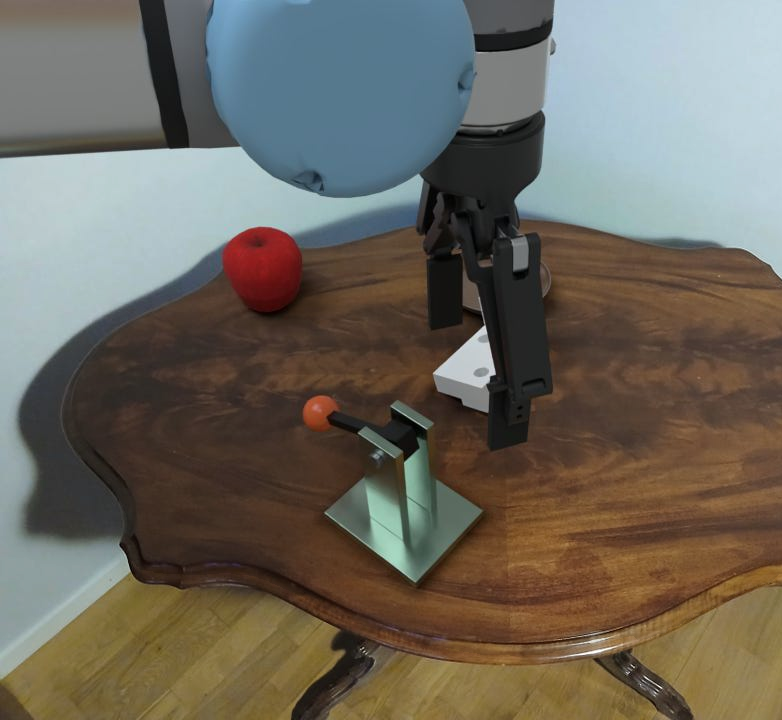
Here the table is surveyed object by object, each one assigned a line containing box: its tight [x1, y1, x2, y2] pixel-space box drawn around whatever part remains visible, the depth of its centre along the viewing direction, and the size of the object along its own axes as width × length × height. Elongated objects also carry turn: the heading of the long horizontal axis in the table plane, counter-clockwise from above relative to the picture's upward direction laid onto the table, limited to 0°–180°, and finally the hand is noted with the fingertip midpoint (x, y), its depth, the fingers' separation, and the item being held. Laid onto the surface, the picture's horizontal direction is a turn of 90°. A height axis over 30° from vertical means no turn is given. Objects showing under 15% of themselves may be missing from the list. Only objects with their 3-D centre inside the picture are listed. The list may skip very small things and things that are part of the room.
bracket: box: [432, 297, 496, 414], centre depth 85 cm, size 13×7×8 cm, turn 145°
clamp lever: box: [302, 394, 420, 462], centre depth 68 cm, size 14×4×4 cm, turn 52°
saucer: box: [455, 250, 552, 316], centre depth 97 cm, size 15×15×3 cm
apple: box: [221, 226, 303, 313], centre depth 92 cm, size 10×10×11 cm
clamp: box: [323, 399, 484, 590], centre depth 67 cm, size 12×10×14 cm
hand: (473, 379), depth 55 cm, fingers open, 13 cm apart
